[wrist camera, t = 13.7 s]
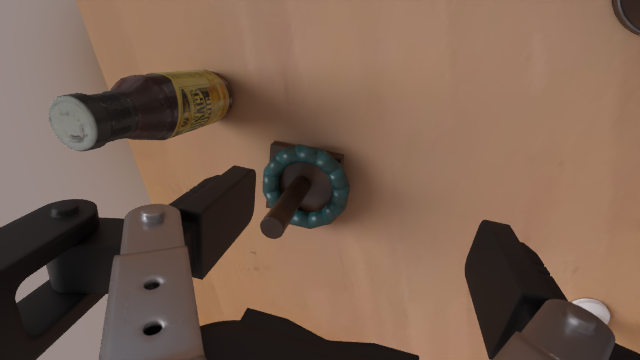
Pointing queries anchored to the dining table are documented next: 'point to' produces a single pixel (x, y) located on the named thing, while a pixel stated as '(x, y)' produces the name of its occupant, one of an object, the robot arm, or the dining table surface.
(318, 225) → the ring
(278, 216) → the peg stand
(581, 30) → the dining table surface
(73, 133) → the sauce bottle
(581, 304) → the chess piece
